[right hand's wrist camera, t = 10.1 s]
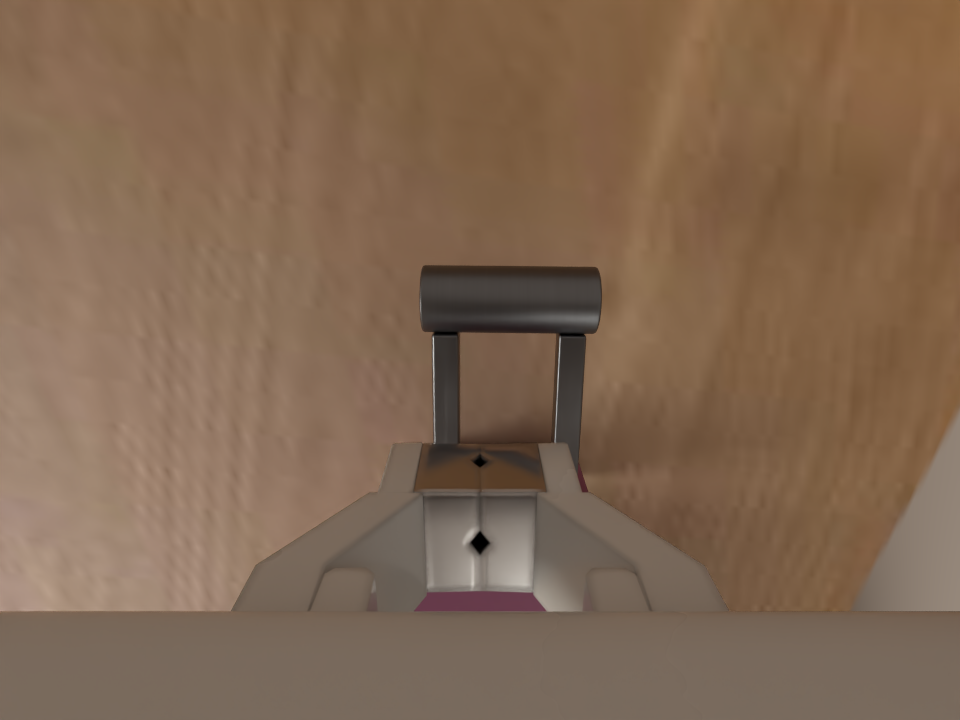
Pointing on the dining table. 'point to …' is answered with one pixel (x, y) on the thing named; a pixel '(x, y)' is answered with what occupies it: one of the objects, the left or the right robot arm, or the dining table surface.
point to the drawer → (507, 309)
